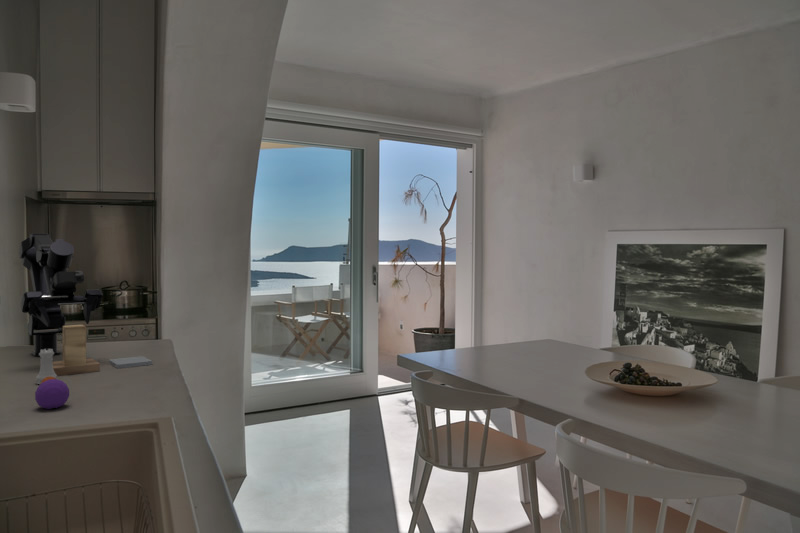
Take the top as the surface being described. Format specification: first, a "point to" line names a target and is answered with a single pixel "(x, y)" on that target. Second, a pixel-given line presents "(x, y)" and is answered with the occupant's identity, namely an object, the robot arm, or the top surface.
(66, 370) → the walnut ledge
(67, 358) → the oak block
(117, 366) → the slate tile
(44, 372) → the rook chess piece
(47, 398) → the purple round ball
